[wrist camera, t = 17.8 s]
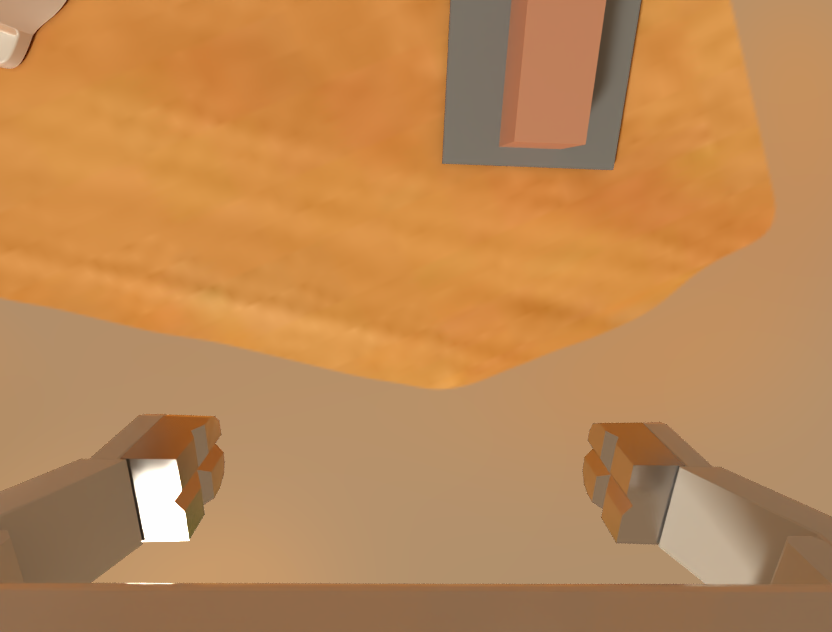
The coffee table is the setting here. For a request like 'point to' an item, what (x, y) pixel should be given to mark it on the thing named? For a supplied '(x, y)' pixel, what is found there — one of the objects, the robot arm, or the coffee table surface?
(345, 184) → the coffee table surface
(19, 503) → the robot arm
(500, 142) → the tall block
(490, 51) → the slate mat
